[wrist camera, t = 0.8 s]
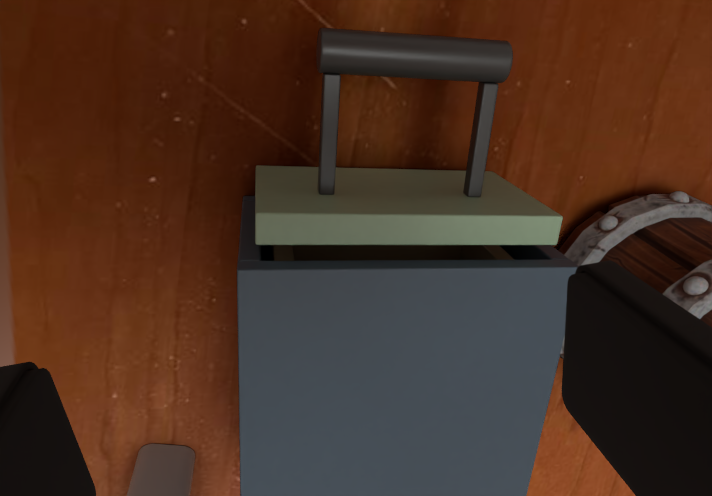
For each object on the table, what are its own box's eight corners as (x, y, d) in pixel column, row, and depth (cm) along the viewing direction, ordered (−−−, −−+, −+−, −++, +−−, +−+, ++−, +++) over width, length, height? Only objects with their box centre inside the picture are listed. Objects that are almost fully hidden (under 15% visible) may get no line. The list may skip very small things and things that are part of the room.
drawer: (255, 23, 23) (254, 23, 16) (514, 41, 25) (601, 47, 18) (255, 409, 30) (255, 511, 24) (455, 398, 32) (504, 490, 26)
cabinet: (242, 195, 26) (236, 269, 18) (491, 199, 28) (581, 267, 20) (245, 439, 32) (241, 578, 24) (454, 426, 34) (514, 549, 26)
